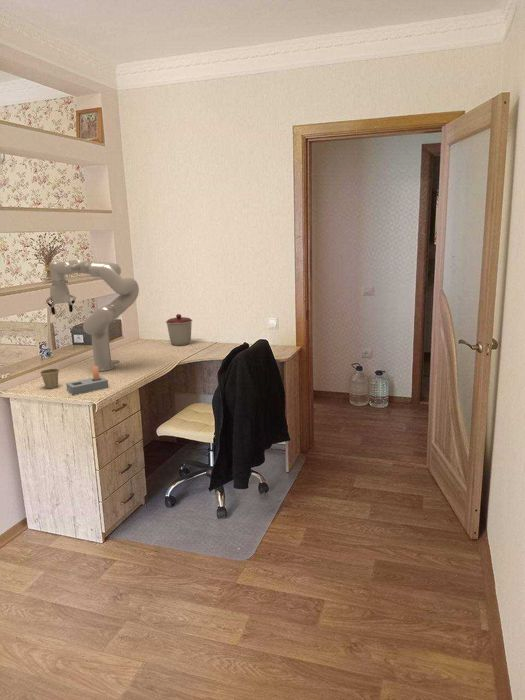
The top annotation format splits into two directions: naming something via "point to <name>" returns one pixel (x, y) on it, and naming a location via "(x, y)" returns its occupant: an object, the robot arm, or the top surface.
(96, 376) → the peg
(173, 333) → the canister
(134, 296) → the robot arm
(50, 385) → the flower pot
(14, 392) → the top surface
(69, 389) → the socket block
